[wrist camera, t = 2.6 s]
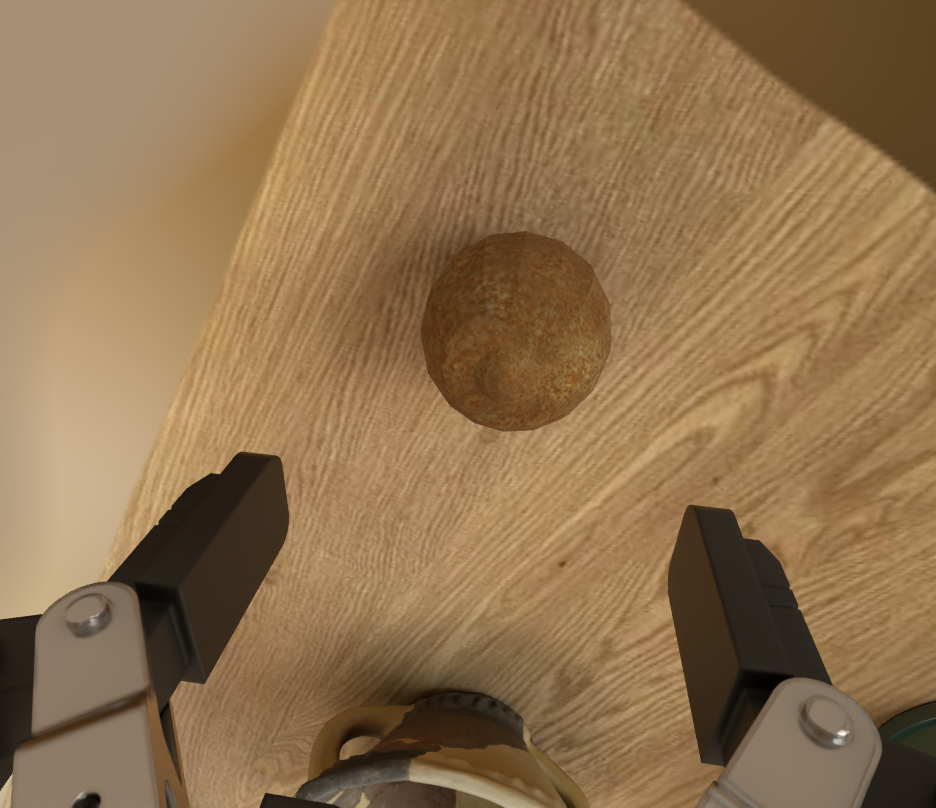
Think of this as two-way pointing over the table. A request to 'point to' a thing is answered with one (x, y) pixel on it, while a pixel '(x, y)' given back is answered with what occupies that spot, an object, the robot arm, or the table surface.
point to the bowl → (437, 759)
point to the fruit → (516, 331)
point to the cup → (914, 729)
